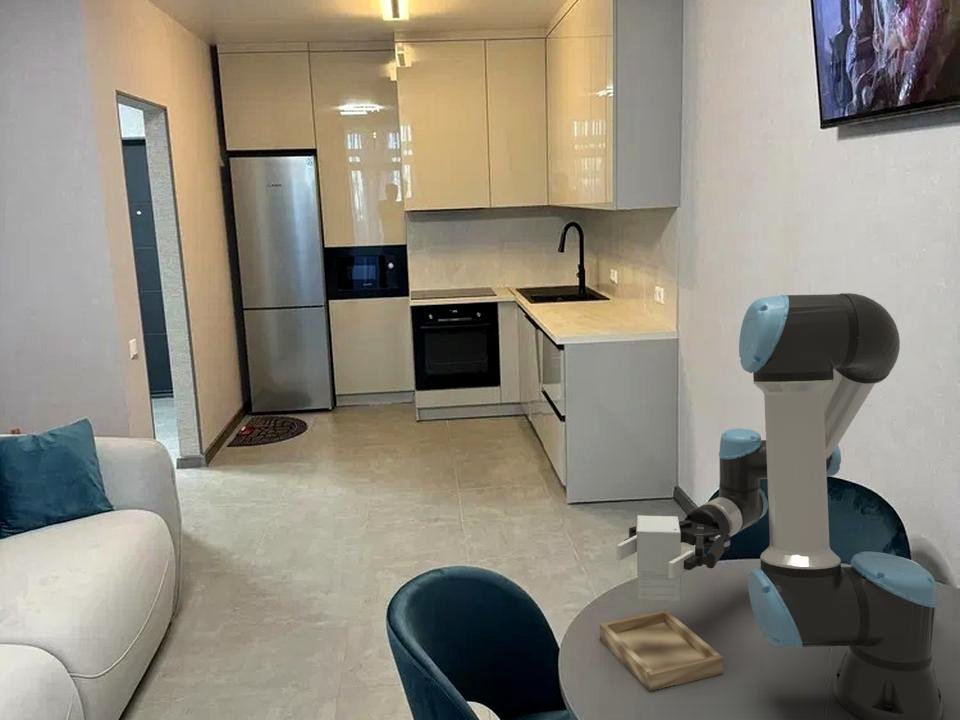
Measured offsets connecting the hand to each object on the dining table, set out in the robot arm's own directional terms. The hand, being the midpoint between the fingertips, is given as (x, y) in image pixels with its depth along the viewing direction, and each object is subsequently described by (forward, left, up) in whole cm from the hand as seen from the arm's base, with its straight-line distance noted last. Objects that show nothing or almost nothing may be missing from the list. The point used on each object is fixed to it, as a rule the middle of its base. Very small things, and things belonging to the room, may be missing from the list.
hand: (643, 561), depth 133 cm
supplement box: (+2, -4, -7) cm, 8 cm away
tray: (+2, -4, -19) cm, 20 cm away
